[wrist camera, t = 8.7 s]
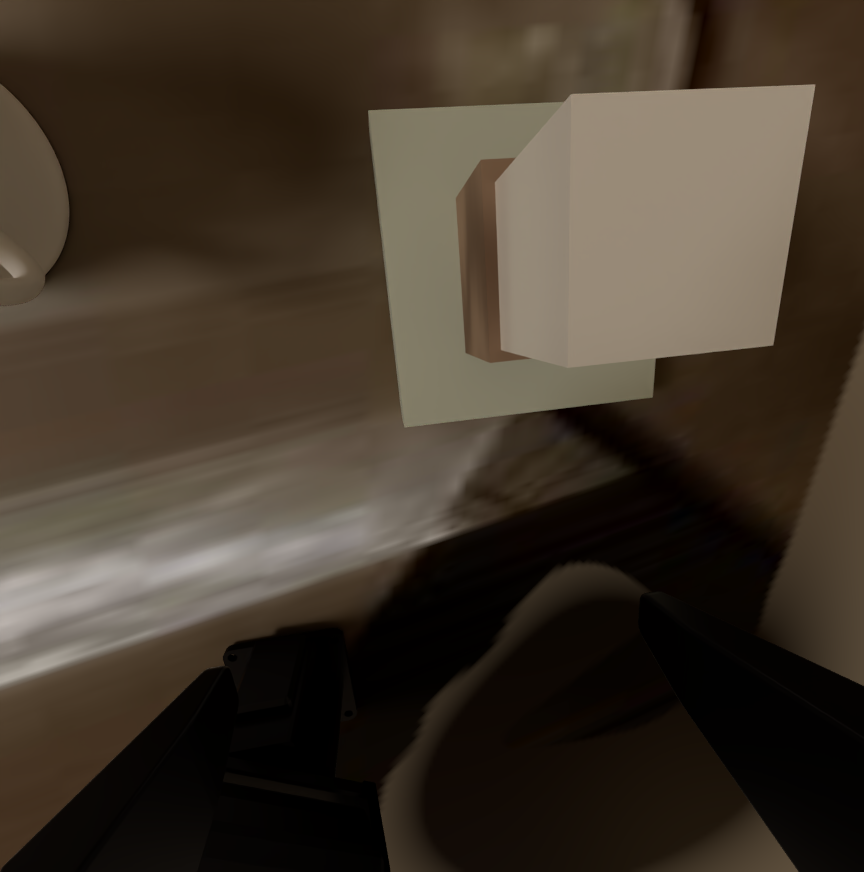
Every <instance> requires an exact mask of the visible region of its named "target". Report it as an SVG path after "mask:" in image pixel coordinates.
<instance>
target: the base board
mask: <svg viewBox="0 0 864 872" xmlns="http://www.w3.org/2000/svg"><path fill="white" fill-rule="evenodd" d="M563 103H564V102H554V103H531V104H507V105H484V106H460V107H437V108H414V109H390V110H368V115H369V135H370V144H371V153H372V161H373V170H374V179H375V187H376V196H377V205H378V213H379V222H380V231H381V239H382V248H383V257H384V266H385V274H386V283H387V292H388V300H389V309H390V318H391V326H392V335H393V344H394V352H395V361H396V370H397V378H398V387H399V396H400V405H401V413H402V419H403V423H404V427H412V426H420V425H429V424H437V423H445V422H453V421H462V420H470V419H478V418H486V417H495V416H503V415H511V414H519V413H528V412H536V411H544V410H552V409H561V408H569V407H577V406H586V405H594V404H602V403H610V402H619V401H627V400H635V399H643V398H652V397H653V387H654V374H655V360H656V358H654V359H644V360H635V361H626V362H617V363H608V364H599V365H590V366H581V367H571V368H566V367H562V366H559V365H555V364H551V363H547V362H544V361H540V360H536V359H523V360H513V361H504V362H495V363H489V362H486V361H484V360H481V359H479V358H476V357H474V356H472V355H469V354H467V353H465V337H464V321H463V305H462V289H461V274H460V258H459V242H458V226H457V210H456V197H457V195H458V194H459V192H460V191H461V189H462V188H463V186H464V185H465V183H466V182H467V180H468V178H469V177H470V175H471V174H472V172H473V171H474V169H475V168H476V166H477V165H478V163H479V162H480V160H484V159H502V158H516V157H517V156H518V155H519V154H520V153H521V152H522V150H523V149H524V148H525V147H526V146H527V145H528V143H529V142H530V141H531V140H532V139H533V138H534V137H535V135H536V134H537V133H538V132H539V131H540V130H541V128H542V127H543V126H544V125H545V124H546V123H547V122H548V120H549V119H550V118H551V117H552V116H553V115H554V113H555V112H556V111H557V110H558V109H559V108H560V107H561V105H562V104H563Z"/></svg>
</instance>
